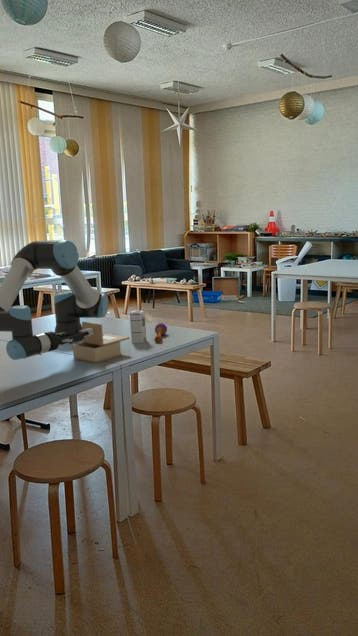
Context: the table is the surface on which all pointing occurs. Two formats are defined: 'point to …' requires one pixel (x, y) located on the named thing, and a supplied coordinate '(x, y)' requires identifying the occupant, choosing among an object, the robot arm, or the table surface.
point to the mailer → (96, 352)
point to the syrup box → (137, 326)
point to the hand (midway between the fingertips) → (92, 331)
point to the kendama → (160, 332)
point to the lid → (100, 335)
